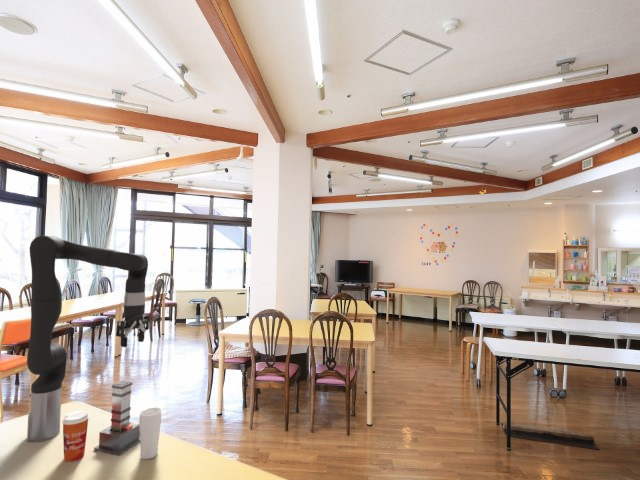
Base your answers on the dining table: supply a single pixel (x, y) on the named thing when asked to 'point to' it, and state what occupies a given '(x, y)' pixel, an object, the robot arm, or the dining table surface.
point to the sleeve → (118, 440)
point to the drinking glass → (149, 432)
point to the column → (120, 406)
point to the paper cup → (75, 435)
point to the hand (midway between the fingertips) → (132, 344)
